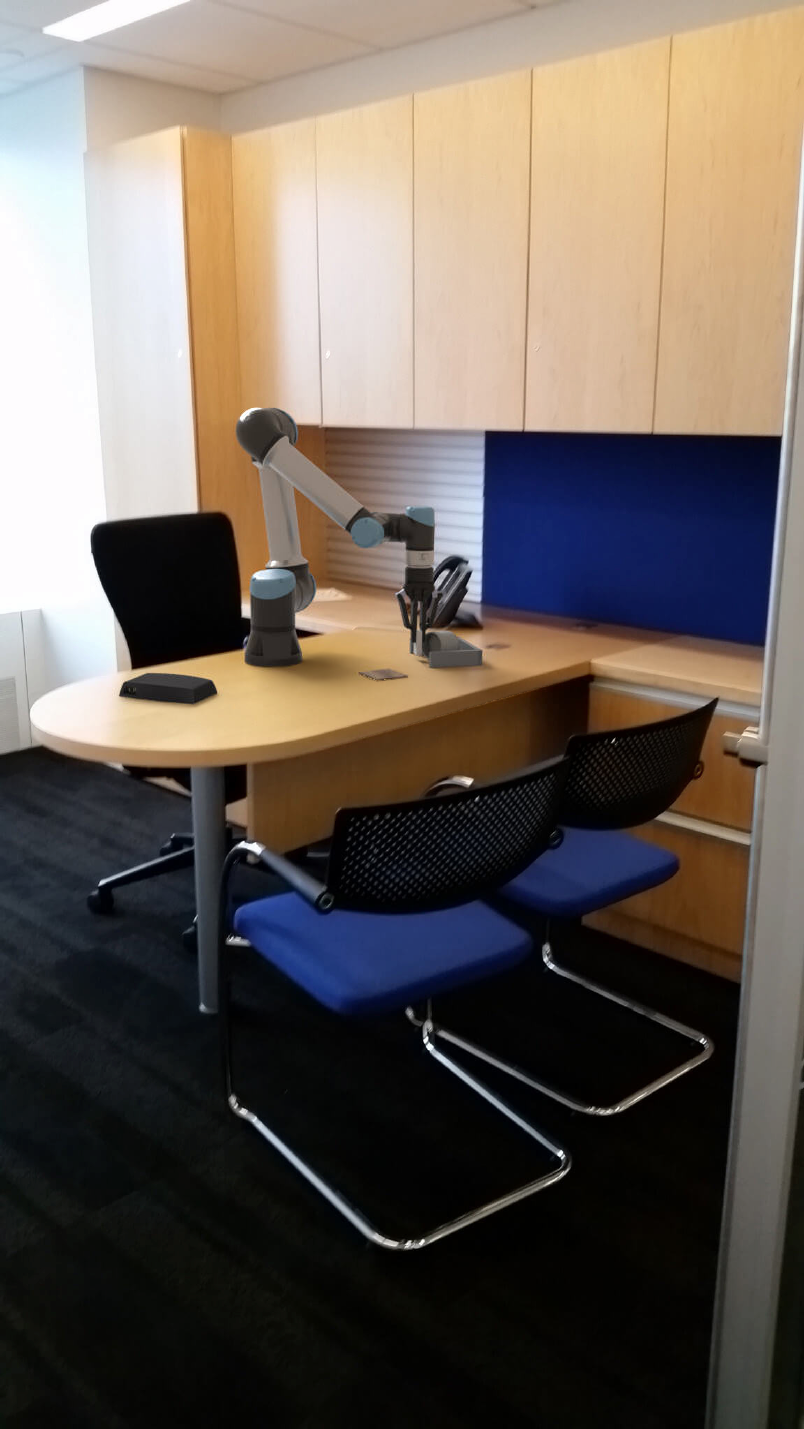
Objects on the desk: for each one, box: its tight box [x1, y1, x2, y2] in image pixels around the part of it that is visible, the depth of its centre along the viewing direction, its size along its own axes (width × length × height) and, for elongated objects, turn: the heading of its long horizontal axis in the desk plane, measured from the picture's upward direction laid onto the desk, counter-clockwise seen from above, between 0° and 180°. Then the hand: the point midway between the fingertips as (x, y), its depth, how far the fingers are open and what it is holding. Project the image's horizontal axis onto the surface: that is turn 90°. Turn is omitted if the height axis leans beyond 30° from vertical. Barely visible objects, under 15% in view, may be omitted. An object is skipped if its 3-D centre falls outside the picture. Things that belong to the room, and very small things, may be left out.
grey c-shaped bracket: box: [409, 636, 483, 668], centre depth 308 cm, size 14×19×4 cm
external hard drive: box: [118, 672, 219, 705], centre depth 264 cm, size 13×19×4 cm
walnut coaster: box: [357, 668, 408, 681], centre depth 288 cm, size 9×9×1 cm
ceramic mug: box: [421, 630, 459, 660], centre depth 309 cm, size 11×8×8 cm
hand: (417, 654), depth 306 cm, fingers closed
